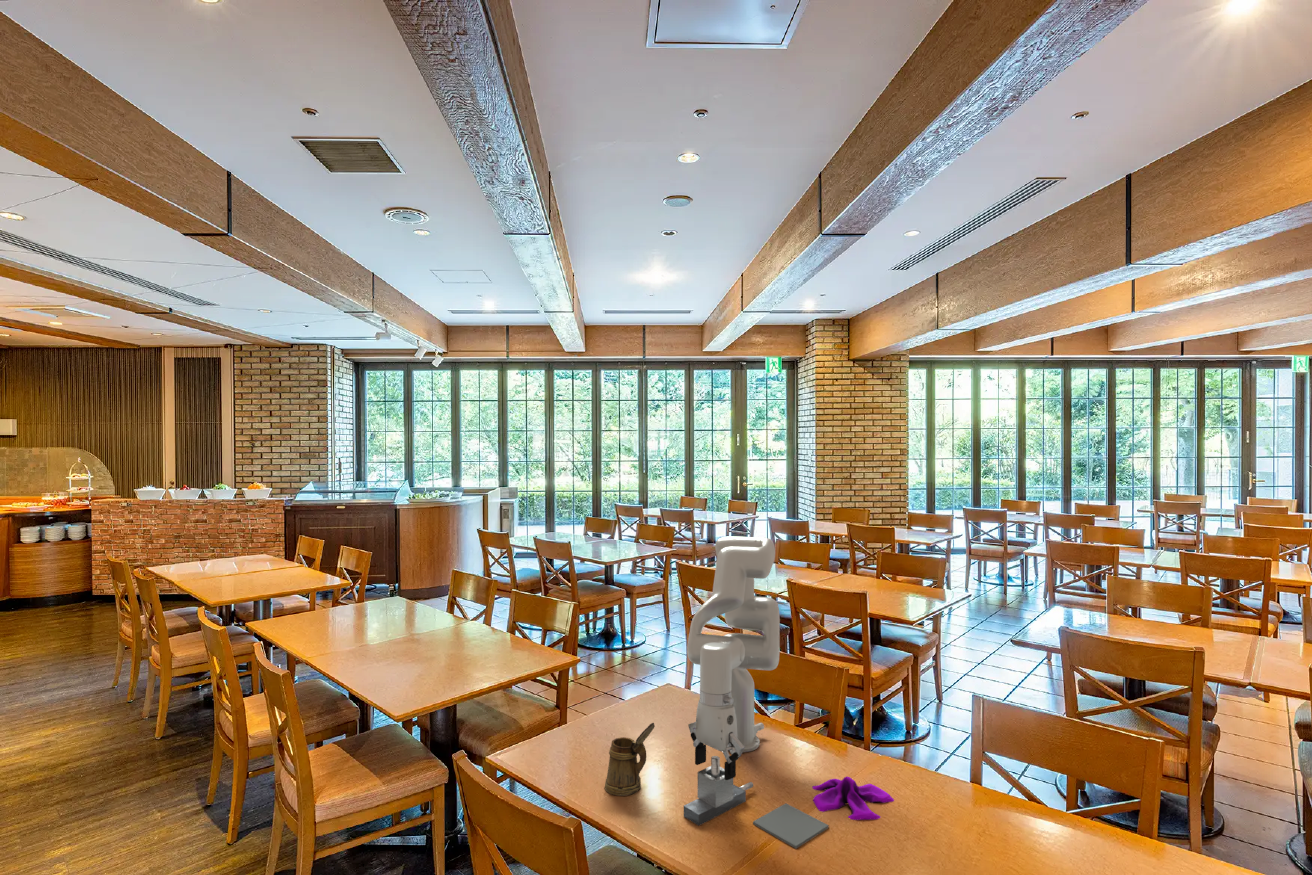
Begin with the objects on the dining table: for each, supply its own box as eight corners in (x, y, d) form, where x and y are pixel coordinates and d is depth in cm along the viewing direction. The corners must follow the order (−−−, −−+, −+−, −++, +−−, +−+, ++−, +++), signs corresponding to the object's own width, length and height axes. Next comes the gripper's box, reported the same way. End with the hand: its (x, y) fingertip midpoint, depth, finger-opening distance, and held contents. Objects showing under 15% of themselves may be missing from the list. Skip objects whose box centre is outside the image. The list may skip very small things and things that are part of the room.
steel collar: (715, 788, 158) (715, 763, 158) (733, 798, 153) (733, 773, 154) (697, 797, 154) (697, 771, 154) (715, 807, 150) (715, 781, 150)
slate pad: (786, 805, 155) (786, 802, 155) (828, 827, 146) (828, 824, 146) (753, 824, 147) (753, 821, 147) (795, 848, 138) (795, 845, 138)
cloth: (896, 793, 162) (896, 768, 163) (887, 831, 146) (887, 804, 146) (808, 772, 172) (808, 749, 173) (789, 806, 156) (789, 780, 156)
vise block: (744, 786, 164) (744, 738, 164) (759, 794, 160) (759, 745, 161) (683, 816, 150) (683, 764, 151) (698, 825, 147) (698, 772, 147)
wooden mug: (643, 805, 155) (644, 729, 156) (597, 789, 162) (598, 717, 162) (662, 788, 163) (662, 716, 163) (617, 774, 170) (618, 705, 170)
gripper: (753, 703, 150) (753, 779, 149) (701, 684, 163) (700, 753, 162) (731, 711, 145) (731, 789, 144) (679, 690, 158) (678, 762, 157)
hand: (714, 770), depth 153 cm, fingers open, 9 cm apart
